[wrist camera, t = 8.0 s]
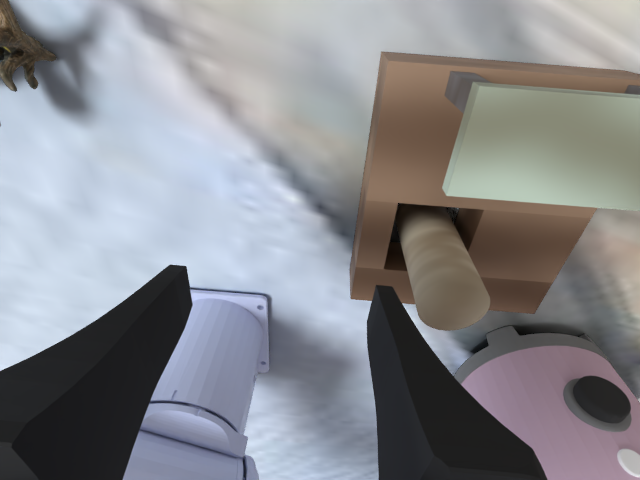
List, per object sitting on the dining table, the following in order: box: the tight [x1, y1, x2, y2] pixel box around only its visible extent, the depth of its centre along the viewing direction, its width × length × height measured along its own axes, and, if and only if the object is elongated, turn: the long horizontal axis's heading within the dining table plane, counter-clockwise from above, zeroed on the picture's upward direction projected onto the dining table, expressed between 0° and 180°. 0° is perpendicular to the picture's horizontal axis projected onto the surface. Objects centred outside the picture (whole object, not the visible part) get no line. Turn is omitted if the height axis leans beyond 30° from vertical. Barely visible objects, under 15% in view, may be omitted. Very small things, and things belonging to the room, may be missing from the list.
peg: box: [395, 203, 490, 330], centre depth 19 cm, size 3×3×8 cm
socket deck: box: [350, 52, 640, 314], centre depth 18 cm, size 14×12×7 cm
